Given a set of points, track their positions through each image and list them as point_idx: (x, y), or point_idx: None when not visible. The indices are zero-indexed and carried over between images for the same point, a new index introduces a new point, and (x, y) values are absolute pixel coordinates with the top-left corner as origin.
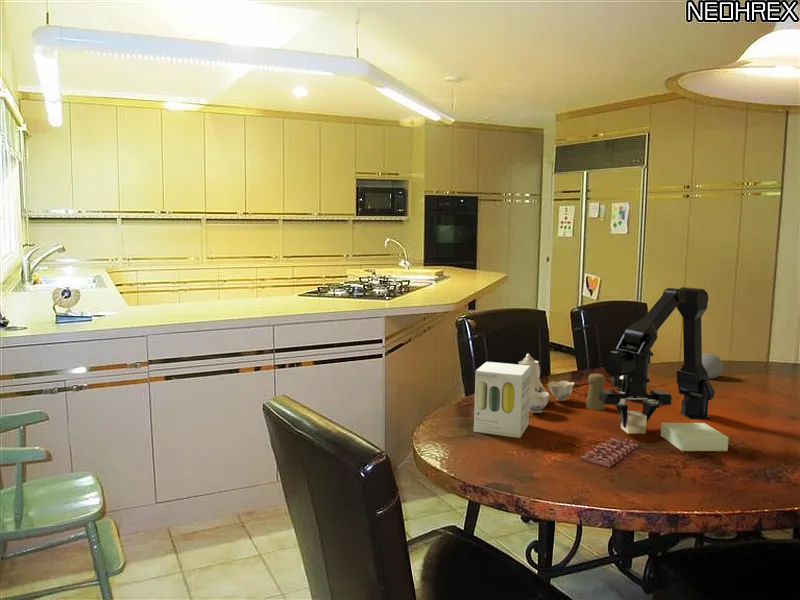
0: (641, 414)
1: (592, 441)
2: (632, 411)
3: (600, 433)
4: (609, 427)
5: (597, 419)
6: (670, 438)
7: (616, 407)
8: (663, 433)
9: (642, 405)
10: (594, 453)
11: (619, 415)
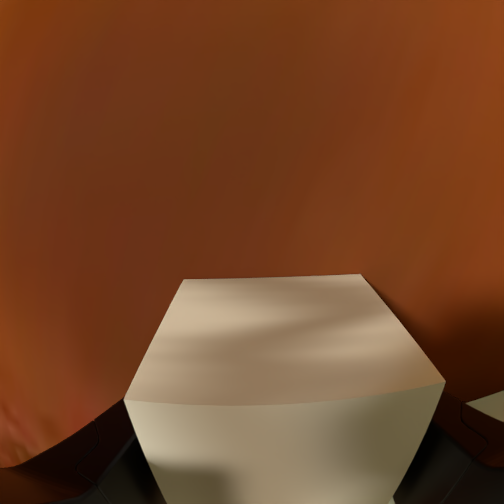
0: (359, 500)
1: (19, 453)
2: (311, 429)
3: (29, 384)
4: (84, 267)
5: (55, 34)
6: (390, 501)
7: (18, 475)
8: None
9: (501, 475)
10: None
11: (100, 418)
